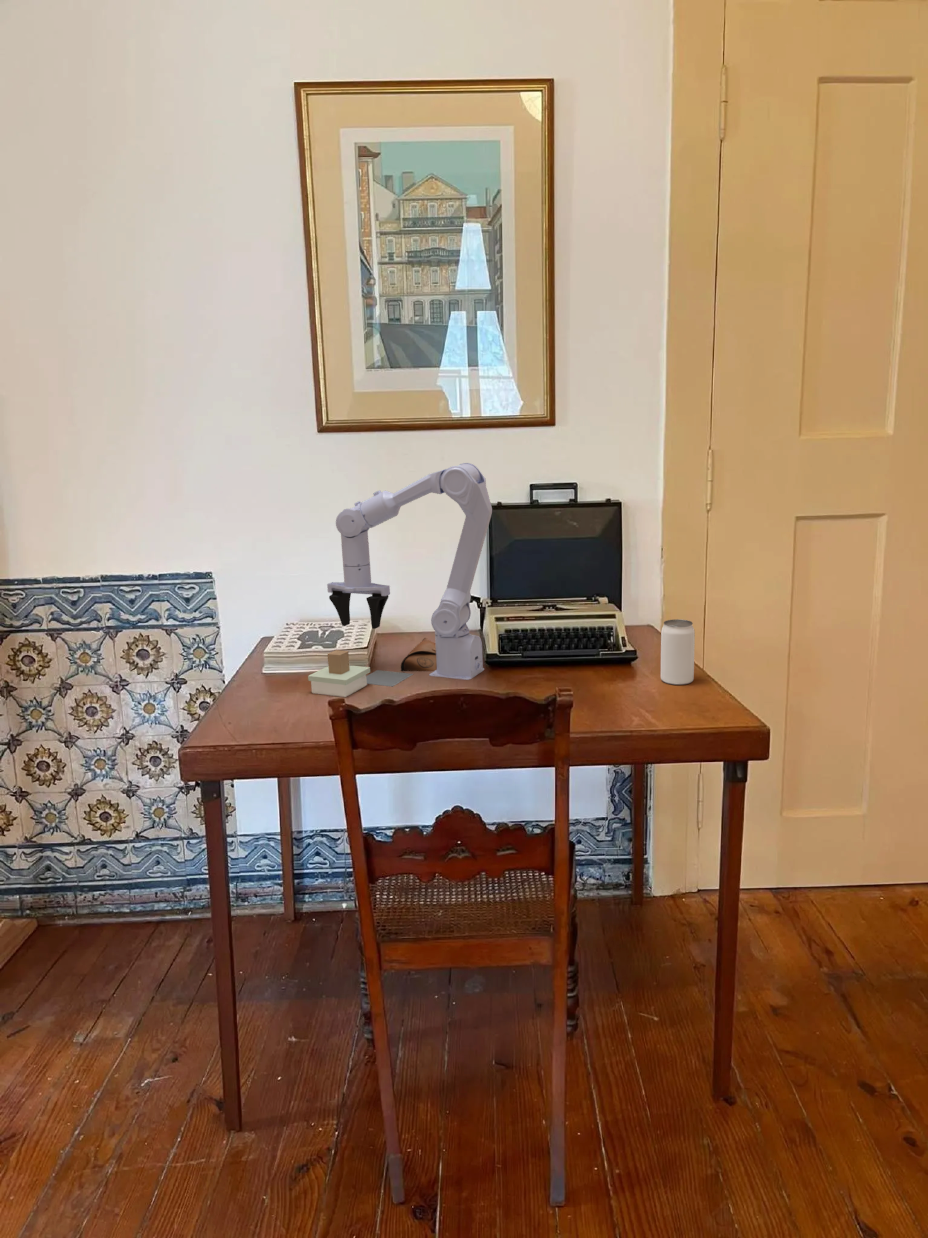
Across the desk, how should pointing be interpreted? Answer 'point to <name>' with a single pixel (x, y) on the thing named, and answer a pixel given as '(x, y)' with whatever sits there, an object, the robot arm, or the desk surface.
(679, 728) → the desk surface
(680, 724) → the desk surface
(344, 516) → the robot arm
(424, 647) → the sunglasses case
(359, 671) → the lid
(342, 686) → the dish
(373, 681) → the mat
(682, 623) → the can
